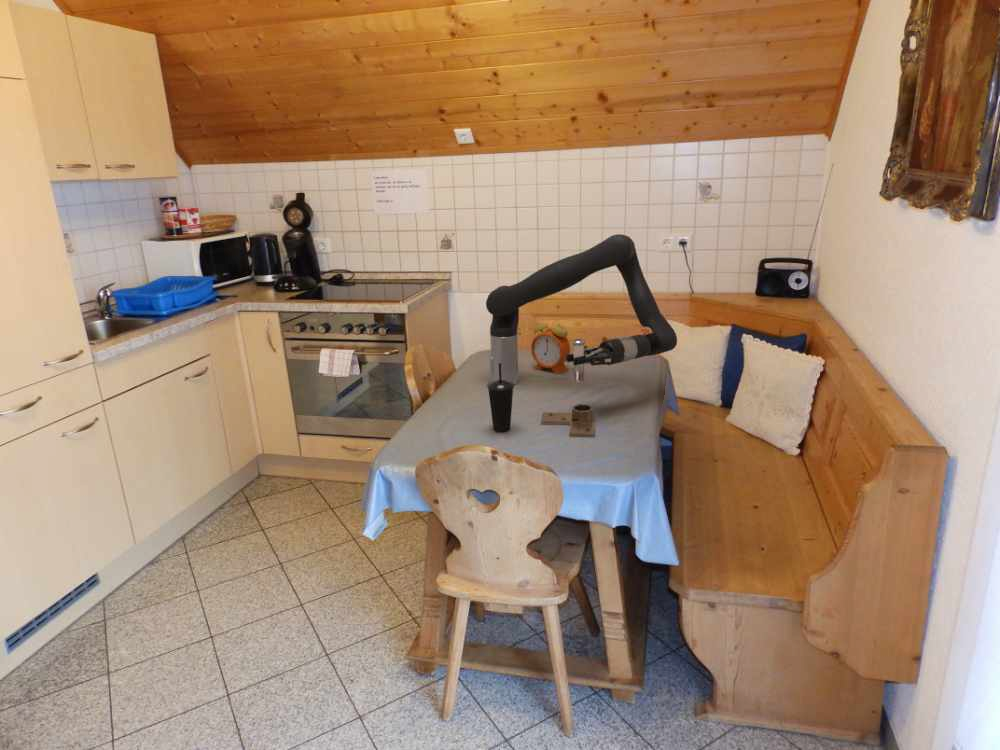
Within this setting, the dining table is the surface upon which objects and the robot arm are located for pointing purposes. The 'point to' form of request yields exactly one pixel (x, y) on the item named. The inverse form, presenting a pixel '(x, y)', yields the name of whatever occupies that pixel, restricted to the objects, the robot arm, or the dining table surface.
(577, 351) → the hinge pin
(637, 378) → the dining table surface
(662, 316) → the robot arm
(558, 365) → the alarm clock
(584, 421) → the hinge base
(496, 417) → the drinking cup
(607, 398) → the dining table surface
